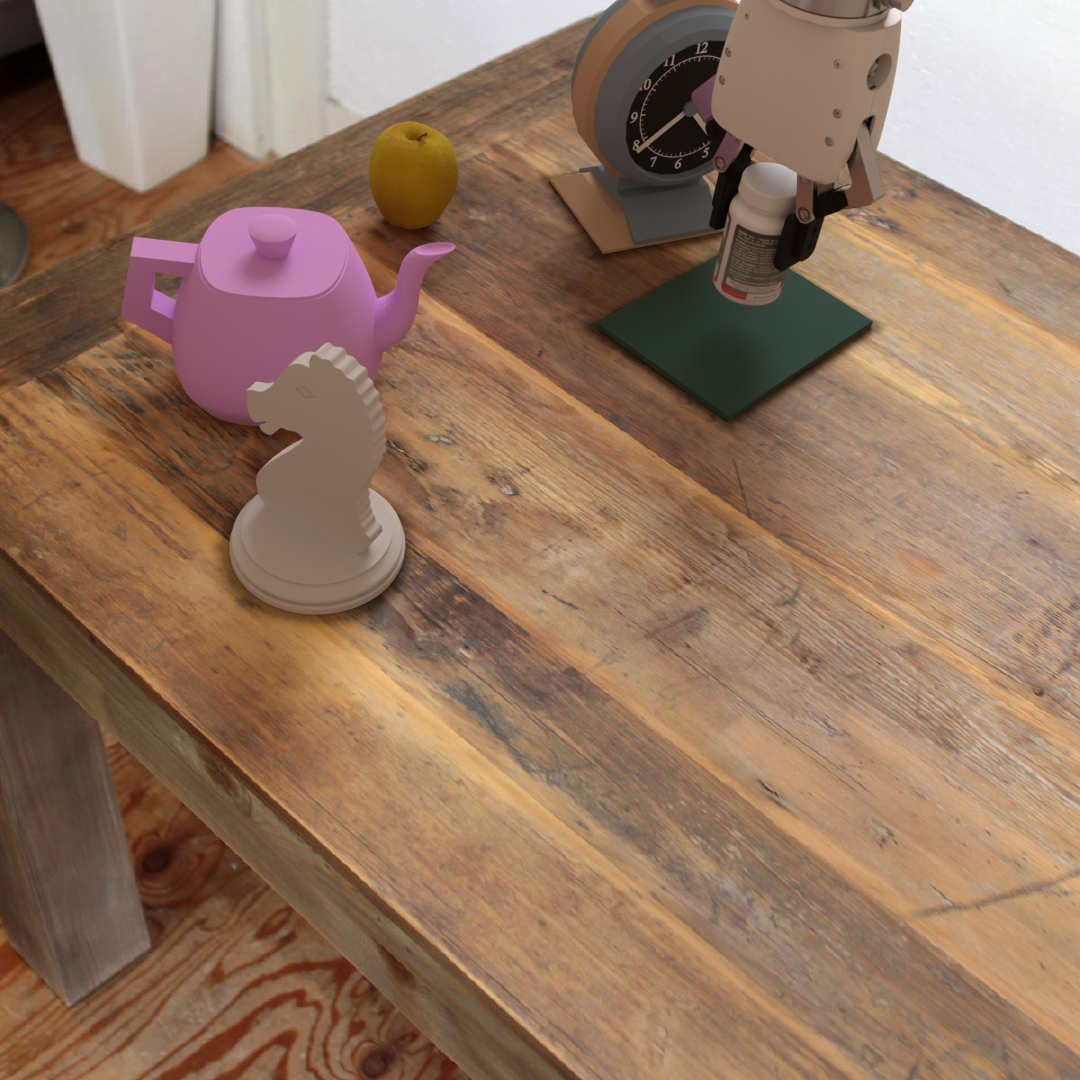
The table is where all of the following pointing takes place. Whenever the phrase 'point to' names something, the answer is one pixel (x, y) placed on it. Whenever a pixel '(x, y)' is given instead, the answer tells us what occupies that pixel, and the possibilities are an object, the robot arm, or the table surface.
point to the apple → (412, 174)
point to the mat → (732, 336)
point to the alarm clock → (645, 122)
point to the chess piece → (319, 492)
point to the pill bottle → (755, 235)
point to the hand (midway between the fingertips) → (758, 239)
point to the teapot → (267, 301)
